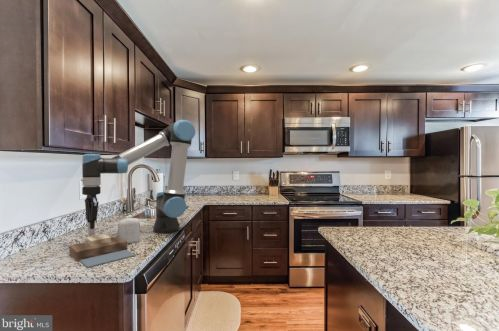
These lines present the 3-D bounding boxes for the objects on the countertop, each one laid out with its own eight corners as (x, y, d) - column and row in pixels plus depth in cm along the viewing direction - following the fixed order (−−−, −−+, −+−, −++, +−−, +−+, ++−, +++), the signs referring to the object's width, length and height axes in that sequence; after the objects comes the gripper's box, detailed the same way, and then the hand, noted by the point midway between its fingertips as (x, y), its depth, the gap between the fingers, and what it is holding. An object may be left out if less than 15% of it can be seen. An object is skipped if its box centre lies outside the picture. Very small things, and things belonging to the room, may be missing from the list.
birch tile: (104, 239, 125) (104, 233, 125) (110, 242, 119) (110, 237, 119) (85, 242, 119) (85, 237, 119) (91, 246, 113) (91, 241, 113)
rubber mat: (125, 250, 121) (125, 249, 121) (134, 256, 114) (134, 255, 114) (80, 261, 107) (80, 260, 107) (87, 268, 101) (87, 266, 101)
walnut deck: (117, 244, 130) (117, 236, 130) (127, 250, 122) (127, 241, 122) (69, 254, 115) (69, 245, 115) (76, 261, 107) (76, 251, 107)
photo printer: (138, 240, 138) (139, 216, 137) (140, 242, 134) (140, 217, 134) (117, 243, 132) (117, 218, 132) (118, 245, 128) (118, 220, 128)
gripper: (78, 185, 127) (78, 234, 128) (86, 187, 119) (86, 239, 119) (95, 184, 133) (95, 231, 133) (104, 186, 124) (104, 236, 124)
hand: (91, 235), depth 126 cm, fingers closed
